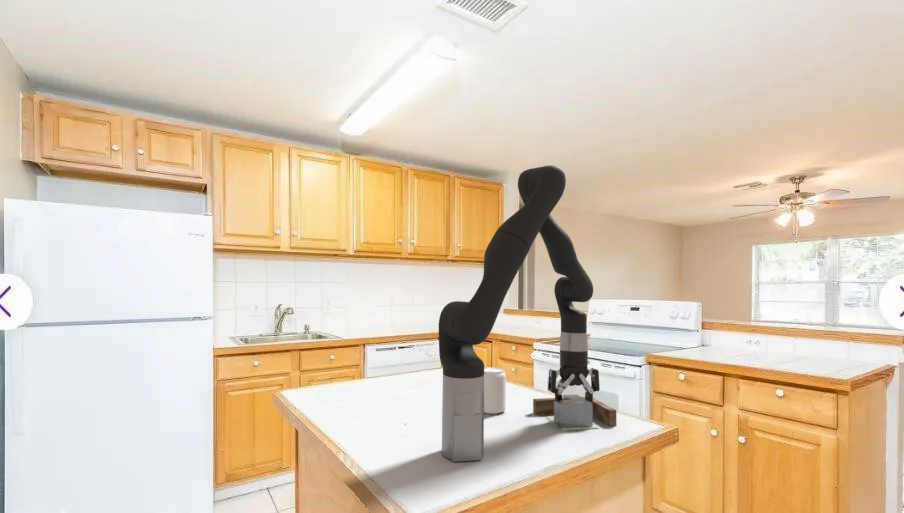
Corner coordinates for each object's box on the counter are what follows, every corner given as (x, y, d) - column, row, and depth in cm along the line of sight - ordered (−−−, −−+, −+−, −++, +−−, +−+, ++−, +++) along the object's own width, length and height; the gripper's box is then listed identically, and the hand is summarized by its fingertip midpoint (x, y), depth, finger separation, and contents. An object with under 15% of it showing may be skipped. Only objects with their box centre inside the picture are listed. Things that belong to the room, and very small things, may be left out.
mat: (598, 428, 115) (598, 427, 115) (562, 430, 114) (562, 429, 114) (578, 415, 126) (578, 415, 126) (545, 417, 124) (545, 416, 124)
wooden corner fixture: (616, 425, 118) (616, 410, 118) (552, 428, 115) (552, 413, 115) (590, 410, 132) (590, 396, 132) (533, 412, 128) (533, 398, 129)
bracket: (592, 426, 116) (592, 403, 117) (560, 428, 115) (560, 404, 115) (576, 416, 125) (576, 394, 125) (546, 417, 124) (546, 395, 124)
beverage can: (506, 415, 126) (507, 372, 126) (478, 415, 126) (478, 372, 126) (504, 407, 134) (504, 367, 134) (477, 406, 134) (477, 366, 135)
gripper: (590, 345, 129) (590, 402, 128) (544, 346, 126) (544, 404, 125) (604, 349, 121) (604, 410, 121) (555, 350, 119) (555, 412, 118)
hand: (573, 407), depth 123 cm, fingers open, 8 cm apart
